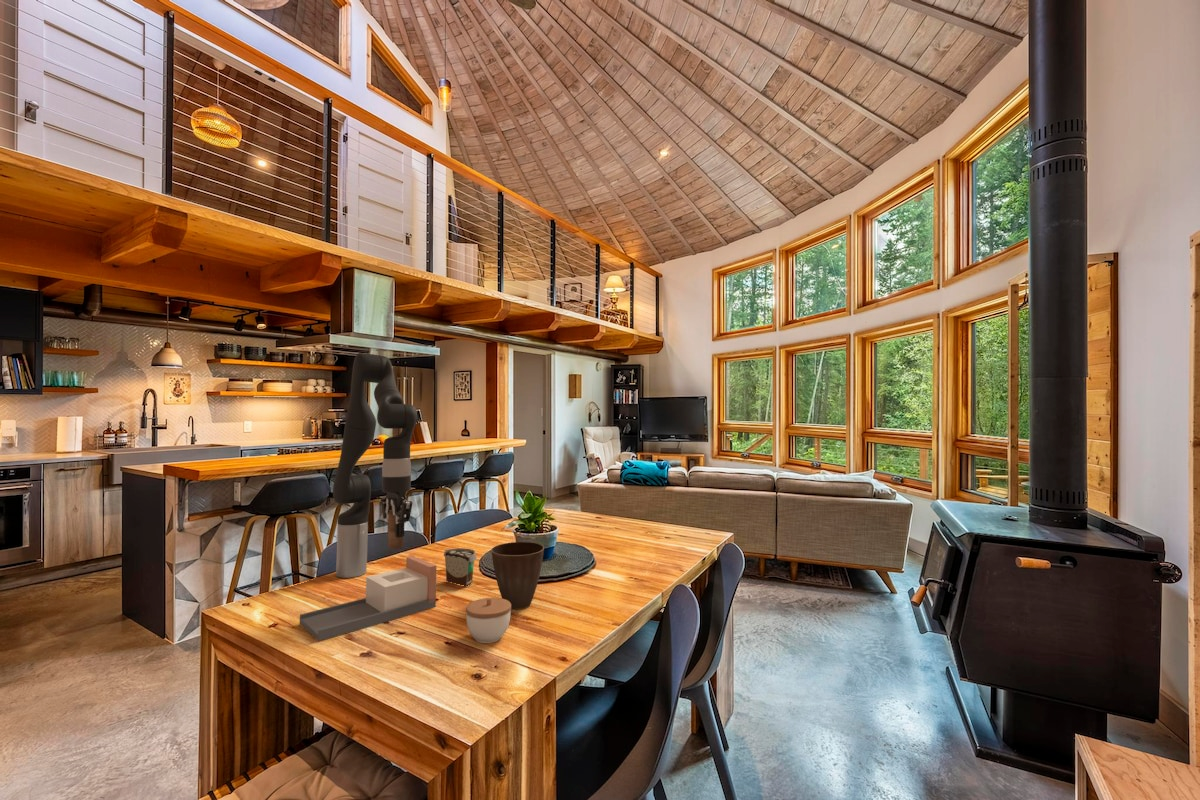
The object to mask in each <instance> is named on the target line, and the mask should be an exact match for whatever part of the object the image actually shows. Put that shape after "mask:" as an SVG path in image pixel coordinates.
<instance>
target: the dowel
mask: <svg viewBox="0 0 1200 800" xmlns="http://www.w3.org/2000/svg"><path fill="white" fill-rule="evenodd" d="M397 512H400V511H397ZM399 516H400V515H399ZM395 533H396V521H395V516H393V511H389V512H388V522H387V549H388V550H399V549H402V548H403V547H404V536H403V537H400V538H397V537H396V536H395Z"/></svg>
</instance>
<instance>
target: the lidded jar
mask: <svg viewBox="0 0 1200 800" xmlns="http://www.w3.org/2000/svg"><path fill="white" fill-rule="evenodd" d="M511 611H512V609H511V603H510V602H509V601H508V600H505V599H502V597H501V598H500V597H486V598H479V599H476V600H473V601H470V602H469V603H468V604H467V605H466V607H465V613H466V616H465V617H466V626H467V629H468V632H469V634H470V635H471V637H472V638H473V639H475V641H476V642H477V643H480V644H494V643H496V642H499V640H501V638H502V637H503V635H504V634H505V633H506V632H507V630H508V628H509V625H510V621H511Z"/></svg>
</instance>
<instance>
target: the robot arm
mask: <svg viewBox="0 0 1200 800" xmlns="http://www.w3.org/2000/svg"><path fill="white" fill-rule="evenodd" d="M351 372H352V374H351V382H350V383H351V386H350V393H349V396H350V397H349V402H348V408H347V412H346V419H345V423H344V429H343V437H342V443H341V444H342V445H341V450H340V452H341V453H340V456H339V461H338V464H337V469H336V472H335V476H334V481H333V487H332V497H333V500H334V502H335V503H336V504H338V505H339V504H340V505H341V504H351V503H353V505H352V506H351V507H350V508H348V509H347V510H345V511H344V512H342V513H340V514H339V515H338V516H337V527H336V528H337V531H336V534H337V535H336V565H335V567H336V568H335V570H336V571H335V576H336V577H338V578H346V579H348V578H357V577H360V576H363V575H365V574H367V568H368V567H367V563H368V535H369V534H368V532H369V531H368V530H369V529H368V528H369V526H368V523H369V514H370V507H371V495H372V484H371V483H372V482H371V480H370V478H369V476H368V475H367V474H353V470H354V469H355V467H356V465H357V463H358V461H360V459H361V458H362V457H363V455H364V454H365V453H366V452H367V450H368V449H369V448H370V447H371V445H372V443H373V442H374V440H375V439H374V438H375V433H376V428H377V423H378V425H379V426H380V427H382V428H383V429H387V430H388V429H389V430H390V429H397V430H398V429H401V431H400V433H399V434H398V435H396V436H391V437H387V438H385V439H384V441H383V451H382V452H383V453H382V455H383V460H382V468H381V491H382V493H386V494H385V495H386V496H385V497H381V498H380V503H381V504H380V505H381V511H382V519H384V520H385V521H386V523H388V512H389V511H393V516H395V521H396V533H395V536H396V537H397V538H400V537H403V538H404V536H405V523H407V522H410V520H411V519H410V517H411V513H412V508H413V501H412V500H408V499H407V497H408V496H407V492H409V491H410V490H411V489H412V488H411V486H412V485H411V484H412V478H411V477H412V463H411V442H412V438H413V433H414V431H415V426H416V423H417V421H418V420H417V419H418V411H417V409H416V407H415V406H414V405H413V404H411V403H404V402H405V401H404V398H403V396H402V395H401V393H400V391H399V389H398V386H397V383H396V377H395V373H394V368H393V364H392V361H391V359H390V358H389V357H387V356H385V355H380V354H374V353H366V352H359V353H357V354H356V355H355V357H354V360H353V364H352V371H351ZM364 383H372V384H373V383H374V384H375V383H376V385H375V388H374V391H373V395H374V396H373V397H374V399H375V402H376V404H377V406H378V408H377V417H376V416H375V414H374V412H373V410H372V409H371V407H370V405H369V402H368V401H367V400H368V399H367V398H366V395H365V391H364V390H365V389H364ZM397 511H400V512H397ZM399 515H400V516H399Z"/></svg>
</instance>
